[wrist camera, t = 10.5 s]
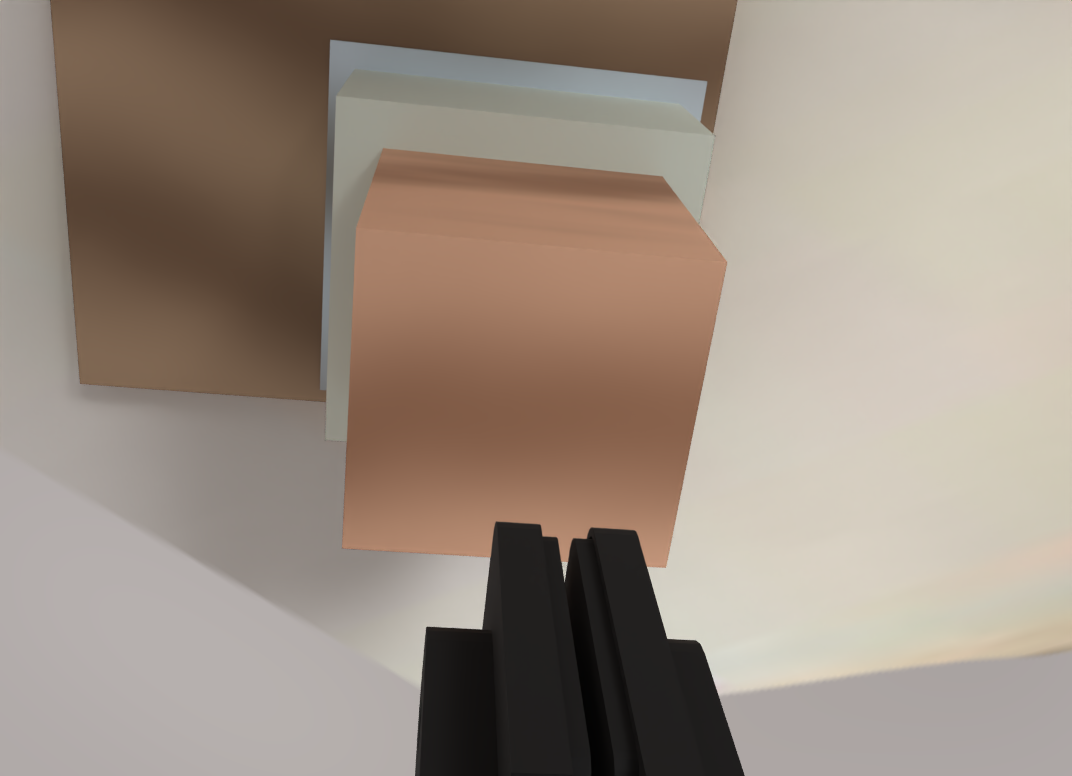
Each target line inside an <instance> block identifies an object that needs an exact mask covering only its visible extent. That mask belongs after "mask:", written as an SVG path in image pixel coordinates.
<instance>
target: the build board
mask: <svg viewBox="0 0 1072 776" xmlns="http://www.w3.org/2000/svg"><path fill="white" fill-rule="evenodd" d="M50 3H51V16H52V28H53V41H54V54H55V67H56V80H57V93H58V106H59V119H60V132H61V145H62V158H63V171H64V183H65V196H66V209H67V222H68V235H69V248H70V261H71V274H72V287H73V300H74V313H75V326H76V338H77V351H78V364H79V377H80V384H89V385H103V386H116V387H130V388H144V389H157V390H171V391H184V392H198V393H211V394H225V395H239V396H252V397H266V398H279V399H293V400H307V401H320V402H326V391H327V360H328V329H329V298H330V267H331V236H332V205H333V174H334V143H335V112H336V95H337V94H338V92H339V91H340V89H341V88H342V87H343V85H344V84H345V82H346V81H347V79H348V78H349V76H350V75H351V73H352V72H353V71H354V69H361V70H370V71H379V72H388V73H398V74H407V75H416V76H425V77H435V78H444V79H453V80H462V81H472V82H481V83H490V84H499V85H509V86H518V87H527V88H537V89H546V90H555V91H564V92H574V93H583V94H592V95H601V96H611V97H620V98H629V99H638V100H648V101H657V102H666V103H675V104H680V105H681V106H682V107H684V108H685V109H686V110H687V111H688V112H689V113H690V114H691V115H693V116H694V117H695V118H696V119H697V120H698V121H699V122H700V123H702V124H703V125H704V126H705V127H706V128H707V129H708V130H710V131H711V132H712V133H713V131H714V125H715V120H716V114H717V109H718V103H719V98H720V93H721V87H722V82H723V76H724V71H725V65H726V60H727V54H728V49H729V43H730V38H731V33H732V27H733V22H734V16H735V11H736V5H737V0H50Z"/></svg>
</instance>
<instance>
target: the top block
mask: <svg viewBox="0 0 1072 776" xmlns="http://www.w3.org/2000/svg"><path fill="white" fill-rule="evenodd" d="M726 266H727V261H726V260H725V259H724V257H723V256H722V255H721V253H720V252H719V251H718V249H717V248H716V247H715V245H714V244H713V243H712V241H711V240H710V239H709V237H708V236H707V235H706V233H705V232H704V231H703V229H702V228H701V227H700V226H699V224H698V223H697V222H696V220H695V219H694V218H693V216H692V215H691V214H690V212H689V211H688V210H687V208H686V207H685V206H684V204H683V203H682V202H681V200H680V199H679V198H678V196H677V195H676V194H675V192H674V191H673V190H672V188H671V187H670V186H669V184H668V183H667V182H666V180H665V179H664V178H663V176H654V175H644V174H634V173H624V172H614V171H605V170H595V169H585V168H575V167H565V166H555V165H545V164H535V163H526V162H516V161H506V160H496V159H486V158H476V157H466V156H456V155H446V154H437V153H427V152H417V151H407V150H397V149H387V148H383V150H382V153H381V156H380V159H379V162H378V164H377V167H376V170H375V173H374V176H373V179H372V182H371V185H370V188H369V191H368V194H367V197H366V200H365V203H364V206H363V209H362V212H361V215H360V218H359V221H358V224H357V226H356V241H355V264H354V287H353V310H352V333H351V356H350V379H349V402H348V425H347V448H346V471H345V494H344V517H343V540H342V548H343V549H360V550H377V551H393V552H410V553H427V554H444V555H460V556H477V557H491V549H492V540H493V532H494V526H495V522H496V521H498V522H514V523H530V524H540V525H541V529H542V536H548V537H557V538H558V543H559V550H560V556H561V562H568V558H569V551H570V546H571V542H572V539H573V538H580V539H587V535H588V532H589V529H590V528H591V527H594V528H610V529H626V530H635V531H636V532H637V534H638V537H639V541H640V544H641V548H642V551H643V555H644V559H645V562H646V566H647V567H662V568H666V565H667V560H668V555H669V550H670V545H671V540H672V535H673V530H674V525H675V520H676V515H677V510H678V505H679V500H680V495H681V490H682V485H683V480H684V475H685V470H686V465H687V460H688V455H689V450H690V445H691V440H692V435H693V430H694V425H695V420H696V415H697V410H698V405H699V400H700V395H701V390H702V385H703V380H704V375H705V370H706V365H707V360H708V355H709V350H710V345H711V340H712V335H713V330H714V325H715V320H716V315H717V310H718V305H719V300H720V295H721V290H722V285H723V281H724V276H725V271H726Z"/></svg>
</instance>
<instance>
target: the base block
mask: <svg viewBox="0 0 1072 776" xmlns="http://www.w3.org/2000/svg"><path fill="white" fill-rule="evenodd" d="M714 141H715V135H714V134H713V133H712V132H711V131H710V130H708V129H707V128H706V127H705V126H704V125H703V124H702V123H700V122H699V121H698V120H697V119H696V118H695V117H694V116H693V115H691V114H690V113H689V112H688V111H687V110H686V109H685V108H684V107H682V106H681V105H680V104H675V103H666V102H657V101H648V100H638V99H629V98H620V97H611V96H601V95H592V94H583V93H574V92H564V91H555V90H546V89H537V88H527V87H518V86H509V85H499V84H490V83H481V82H472V81H462V80H453V79H444V78H435V77H425V76H416V75H407V74H398V73H388V72H379V71H370V70H361V69H354V71H353V72H352V73H351V75H350V76H349V78H348V79H347V81H346V82H345V84H344V85H343V87H342V88H341V89H340V91H339V92H338V94H337V95H336V112H335V143H334V174H333V205H332V236H331V267H330V298H329V329H328V360H327V391H326V423H325V440H329V441H343V442H347V425H348V402H349V379H350V356H351V333H352V310H353V287H354V264H355V241H356V226H357V224H358V221H359V218H360V215H361V212H362V209H363V206H364V203H365V200H366V197H367V194H368V191H369V188H370V185H371V182H372V179H373V176H374V173H375V170H376V167H377V164H378V162H379V159H380V156H381V153H382V150H383V148H387V149H397V150H407V151H417V152H427V153H437V154H446V155H456V156H466V157H476V158H486V159H496V160H506V161H516V162H526V163H535V164H545V165H555V166H565V167H575V168H585V169H595V170H605V171H614V172H624V173H634V174H644V175H654V176H663V178H664V179H665V180H666V182H667V183H668V184H669V186H670V187H671V188H672V190H673V191H674V192H675V194H676V195H677V196H678V198H679V199H680V200H681V202H682V203H683V204H684V206H685V207H686V208H687V210H688V211H689V212H690V214H691V215H692V216H693V218H694V219H695V220H696V222H697V223H698V224H699V222H700V217H701V211H702V206H703V200H704V195H705V190H706V184H707V179H708V173H709V168H710V162H711V157H712V152H713V146H714Z"/></svg>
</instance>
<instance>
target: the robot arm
mask: <svg viewBox="0 0 1072 776" xmlns="http://www.w3.org/2000/svg"><path fill="white" fill-rule="evenodd" d="M415 776H744V772H743V769H742V766H741V763H740V760H739V757H738V754H737V751H736V748H735V745H734V742H733V739H732V736H731V733H730V729H729V727H728V723H727V720H726V717H725V714H724V711H723V708H722V705H721V702H720V699H719V696H718V693H717V690H716V687H715V684H714V681H713V677H712V674H711V671H710V668H709V665H708V662H707V659H706V656H705V653H704V651H703V649H702V646H701V644H700V643H698V642H697V641H695V640H676V639H667V637H666V633H665V629H664V626H663V622H662V619H661V615H660V612H659V608H658V605H657V601H656V598H655V594H654V590H653V587H652V583H651V580H650V576H649V573H648V569H647V566H646V562H645V559H644V555H643V551H642V548H641V544H640V541H639V537H638V534H637V532H636V531H635V530H626V529H610V528H594V527H591V528H590V529H589V532H588V535H587V539H580V538H573V539H572V542H571V546H570V551H569V558H568V565H567V571H566V578H565V582H564V576H563V569H562V563H561V556H560V550H559V543H558V538H557V537H548V536H542V529H541V525H540V524H530V523H514V522H498V521H496V522H495V526H494V532H493V540H492V549H491V558H490V567H489V576H488V584H487V593H486V602H485V611H484V619H483V628H482V630H480V629H460V628H441V627H426V635H425V646H424V658H423V669H422V681H421V694H420V707H419V721H418V737H417V754H416V770H415Z"/></svg>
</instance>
